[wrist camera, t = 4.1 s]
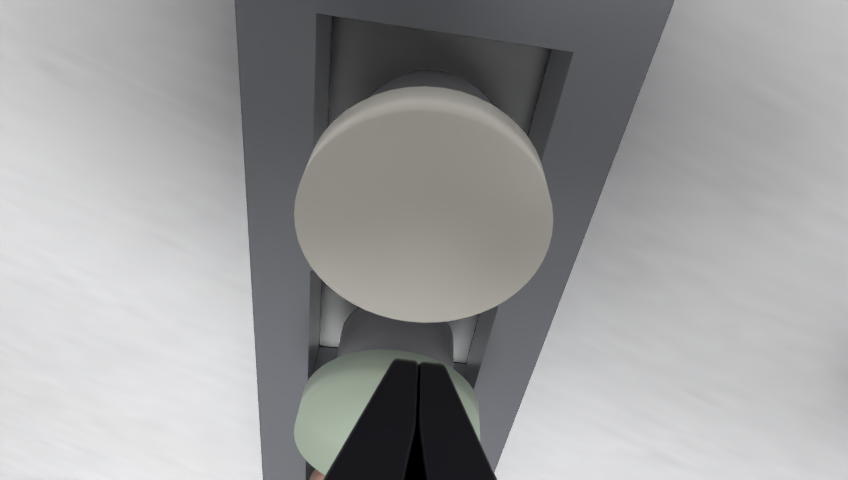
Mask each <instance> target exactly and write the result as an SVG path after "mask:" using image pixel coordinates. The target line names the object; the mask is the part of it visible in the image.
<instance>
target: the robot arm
mask: <svg viewBox="0 0 848 480" xmlns="http://www.w3.org/2000/svg"><path fill="white" fill-rule="evenodd" d="M323 480H497V478H496V476H495V474H494V472H493V469H492V467H491V465H490V463H489V461H488V458H487V456H486V454H485V452H484V450H483V447H482V445H481V443H480V441H479V439H478V436H477V434H476V432H475V430H474V428H473V425H472V423H471V421H470V419H469V417H468V414H467V412H466V410H465V408H464V406H463V403H462V401H461V399H460V397H459V395H458V392H457V390H456V388H455V386H454V384H453V381H452V379H451V377H450V375H449V373H448V370H447V368H446V367H445V365H443V364H441V363H434V362H426V361H423V362H421V363H420V364H418V362H417V361H415V360H409V359H401V358H396V359H394V360H393V361H392V363H391V364H390V366H389V368H388V369H387V371H386V373H385V374H384V376H383V378H382V380H381V381H380V383H379V385H378V386H377V388H376V390H375V391H374V393H373V395H372V397H371V398H370V400H369V402H368V403H367V405H366V407H365V409H364V410H363V412H362V414H361V415H360V417H359V419H358V420H357V422H356V424H355V426H354V427H353V429H352V431H351V432H350V434H349V436H348V438H347V439H346V441H345V443H344V444H343V446H342V448H341V449H340V451H339V453H338V455H337V456H336V458H335V460H334V461H333V463H332V465H331V466H330V468H329V470H328V472H327V473H326V475H325V477H324V478H323Z"/></svg>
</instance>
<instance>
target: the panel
mask: <svg viewBox="0 0 848 480" xmlns="http://www.w3.org/2000/svg"><path fill="white" fill-rule="evenodd" d="M673 3H674V0H235V10H236V27H237V44H238V62H239V79H240V96H241V113H242V130H243V147H244V164H245V181H246V198H247V215H248V232H249V249H250V266H251V283H252V300H253V317H254V334H255V351H256V368H257V385H258V402H259V419H260V436H261V453H262V471H263V480H309V479H310V477H311V474H312V473H313V471H314V470H315V468H314V467H313V466H311V465H310V464H309V463H308V462H307V461H306V460H305V458H304V457H303V456H302V455H301V453H300V451H299V450H298V448H297V445H296V442H295V438H294V427H295V422H296V418H297V414H298V410H299V406H300V402H301V398H302V394H303V391H304V388H305V385H306V383H307V382H308V380H309V378H310V377H311V376H312V375H313V374H314V373H315V372H316V371H317V370H318V369H319V368H320V367H322V366H323V365H325V364H326V363H328V362H330V361H331V360H334V359H336V358H337V353H338V348H330V347H322V346H319V332H320V306H321V281H322V279H321V278H320V277H319V276H318V275H317V274H316V272H315V271H314V270H313V269H312V267H311V266H310V264H309V263H308V261H307V259H306V257H305V256H304V254H303V251H302V249H301V247H300V244H299V242H298V238H297V234H296V229H295V220H294V208H295V199H296V195H297V191H298V187H299V184H300V181H301V179H302V176H303V174H304V171H305V169H306V166H307V164H308V161H309V159H310V156H311V154H312V152H313V149H314V147H315V145H316V143H317V142H318V140H319V139H320V137H321V135H322V134H323V132H324V131H325V130H326V129H327V127H328V101H329V76H330V50H331V25H332V16H337V17H344V18H350V19H357V20H363V21H370V22H377V23H383V24H390V25H396V26H403V27H410V28H416V29H423V30H430V31H436V32H443V33H449V34H456V35H463V36H469V37H476V38H483V39H489V40H496V41H502V42H509V43H516V44H522V45H529V46H535V47H542V48H549V49H551V53H550V57H549V60H548V64H547V68H546V71H545V75H544V79H543V83H542V86H541V90H540V94H539V97H538V101H537V105H536V108H535V112H534V116H533V119H532V123H531V127H530V130H529V134H528V137H529V139H530V141H531V142H532V144H533V146H534V147H535V149H536V151H537V153H538V156H539V158H540V161H541V163H542V167H543V171H544V175H545V179H546V183H547V187H548V191H549V195H550V199H551V203H552V209H553V230H552V237H551V241H550V245H549V248H548V251H547V253H546V255H545V258H544V260H543V262H542V263H541V265H540V267H539V268H538V270H537V271H536V273H535V274H534V275H533V276H532V278H531V279H530V280H529V281H528V283H526V284H525V285H524V286H523V287H522V288H521V289H520V290H519V291H518V292H517V293H515V294H514V295H513V296H511V297H510V298H509V299H507V300H506V301H504V302H502V303H501V304H499V305H497V306H495V307H494V308H491V309H489V310H487V311H484V312H482V313H480V314H479V318H478V322H477V325H476V329H475V333H474V336H473V340H472V344H471V347H470V351H469V355H468V358H467V362H466V364H462V363H454V362H453V369H454V370H455V371H457V372H458V373H459V374H460V375H461V376H463V377H464V378H465V380H466V381H467V382H468V383H469V384H470V386H471V387H472V389H473V390H474V392H475V394H476V397H477V400H478V404H479V422H480V443H481V445H482V447H483V450H484V452H485V454H486V456H487V458H488V461H489V463H490V465H491V467H492V469H493V472H495V469H496V466H497V464H498V461H499V459H500V456H501V453H502V451H503V448H504V446H505V443H506V440H507V438H508V435H509V432H510V430H511V427H512V425H513V422H514V419H515V417H516V414H517V411H518V409H519V406H520V404H521V401H522V398H523V396H524V393H525V391H526V388H527V385H528V383H529V380H530V377H531V375H532V372H533V370H534V367H535V364H536V362H537V359H538V356H539V354H540V351H541V349H542V346H543V343H544V341H545V338H546V336H547V333H548V330H549V328H550V325H551V322H552V320H553V317H554V315H555V312H556V309H557V307H558V304H559V301H560V299H561V296H562V294H563V291H564V288H565V286H566V283H567V281H568V278H569V275H570V273H571V270H572V267H573V265H574V262H575V260H576V257H577V254H578V252H579V249H580V246H581V244H582V241H583V239H584V236H585V233H586V231H587V228H588V226H589V223H590V220H591V218H592V215H593V212H594V210H595V207H596V205H597V202H598V199H599V197H600V194H601V191H602V189H603V186H604V184H605V181H606V178H607V176H608V173H609V171H610V168H611V165H612V163H613V160H614V157H615V155H616V152H617V150H618V147H619V144H620V142H621V139H622V137H623V134H624V131H625V129H626V126H627V123H628V121H629V118H630V116H631V113H632V110H633V108H634V105H635V102H636V100H637V97H638V95H639V92H640V89H641V87H642V84H643V82H644V79H645V76H646V74H647V71H648V68H649V66H650V63H651V61H652V58H653V55H654V53H655V50H656V47H657V45H658V42H659V40H660V37H661V34H662V32H663V29H664V27H665V24H666V21H667V19H668V16H669V13H670V11H671V8H672V6H673Z"/></svg>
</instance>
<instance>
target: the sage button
mask: <svg viewBox="0 0 848 480" xmlns="http://www.w3.org/2000/svg"><path fill="white" fill-rule="evenodd" d="M396 358H401V359H409V360H415V361H417V362H418V364H420V363H421V362H423V361H426V362H434V363H441V364H443V365H445V367H446V368H447V370H448V373H449V375H450V377H451V379H452V381H453V384H454V386H455V388H456V390H457V392H458V395H459V397H460V399H461V401H462V403H463V406H464V408H465V410H466V412H467V414H468V417H469V419H470V421H471V423H472V425H473V428H474V430H475V432H476V434H477V436H478V439H479V441H480V422H479V404H478V400H477V397H476V394H475V392H474V390H473V389H472V387H471V386H470V384H469V383H468V382H467V381H466V380H465V378H464V377H463V376H461V375H460V374H459V373H458V372H457V371H455V370H454V369H453V335H452V331H451V328H450V326H449V325H448V323H447V321H445V322H428V323H421V322H408V321H402V320H396V319H391V318H388V317H384V316H380V315H377V314H375V313H372V312H369V311H367V310H364V309H362V308H360V307H359V308H358V309H356V310H355V311H354V312H353V313H352V314H351V315H350V316H349V317H348V318H347V320H346V321H345V323H344V326H343V329H342V334H341V338H340V343H339V348H338V353H337V358H336V359H334V360H331V361H330V362H328V363H326V364H325V365H323V366H322V367H320V368H319V369H318V370H317V371H316V372H315V373H314V374H313V375H312V376H311V377H310V378H309V380H308V382H307V383H306V385H305V388H304V391H303V394H302V398H301V402H300V406H299V410H298V414H297V418H296V422H295V427H294V438H295V442H296V445H297V448H298V450H299V451H300V453H301V455H302V456H303V457H304V458H305V460H306V461H307V462H308V463H309V464H310V465H311V466H313V467H314V468H315V469H316V470H318V471H319V472H321V473H322V474H324V475H326V473H327V472H328V470H329V468H330V466H331V465H332V463H333V461H334V460H335V458H336V456H337V455H338V453H339V451H340V449H341V448H342V446H343V444H344V443H345V441H346V439H347V438H348V436H349V434H350V432H351V431H352V429H353V427H354V426H355V424H356V422H357V420H358V419H359V417H360V415H361V414H362V412H363V410H364V409H365V407H366V405H367V403H368V402H369V400H370V398H371V397H372V395H373V393H374V391H375V390H376V388H377V386H378V385H379V383H380V381H381V380H382V378H383V376H384V374H385V373H386V371H387V369H388V368H389V366H390V364H391V363H392V361H393V360H394V359H396Z"/></svg>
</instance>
